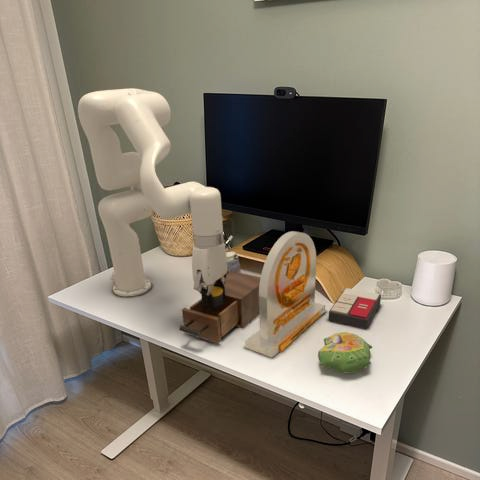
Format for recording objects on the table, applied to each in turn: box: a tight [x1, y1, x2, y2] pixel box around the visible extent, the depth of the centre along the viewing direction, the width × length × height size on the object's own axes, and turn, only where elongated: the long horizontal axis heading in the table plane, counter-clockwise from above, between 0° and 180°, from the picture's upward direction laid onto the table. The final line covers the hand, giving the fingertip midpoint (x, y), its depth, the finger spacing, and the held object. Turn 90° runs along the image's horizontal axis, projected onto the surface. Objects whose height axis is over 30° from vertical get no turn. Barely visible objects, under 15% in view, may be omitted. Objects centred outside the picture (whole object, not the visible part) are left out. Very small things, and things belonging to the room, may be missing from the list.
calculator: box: [328, 287, 382, 330], centre depth 131 cm, size 11×4×15 cm
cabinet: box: [211, 271, 261, 328], centre depth 134 cm, size 15×13×9 cm
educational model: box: [317, 331, 373, 374], centre depth 111 cm, size 13×16×5 cm
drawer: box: [178, 298, 240, 344], centre depth 124 cm, size 18×11×7 cm, turn 148°
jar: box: [205, 286, 223, 308], centre depth 123 cm, size 5×5×4 cm
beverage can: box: [226, 251, 242, 274], centre depth 147 cm, size 6×7×12 cm
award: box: [244, 230, 326, 359], centre depth 119 cm, size 28×9×28 cm, turn 143°
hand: (214, 301), depth 123 cm, fingers closed on jar, 5 cm apart
